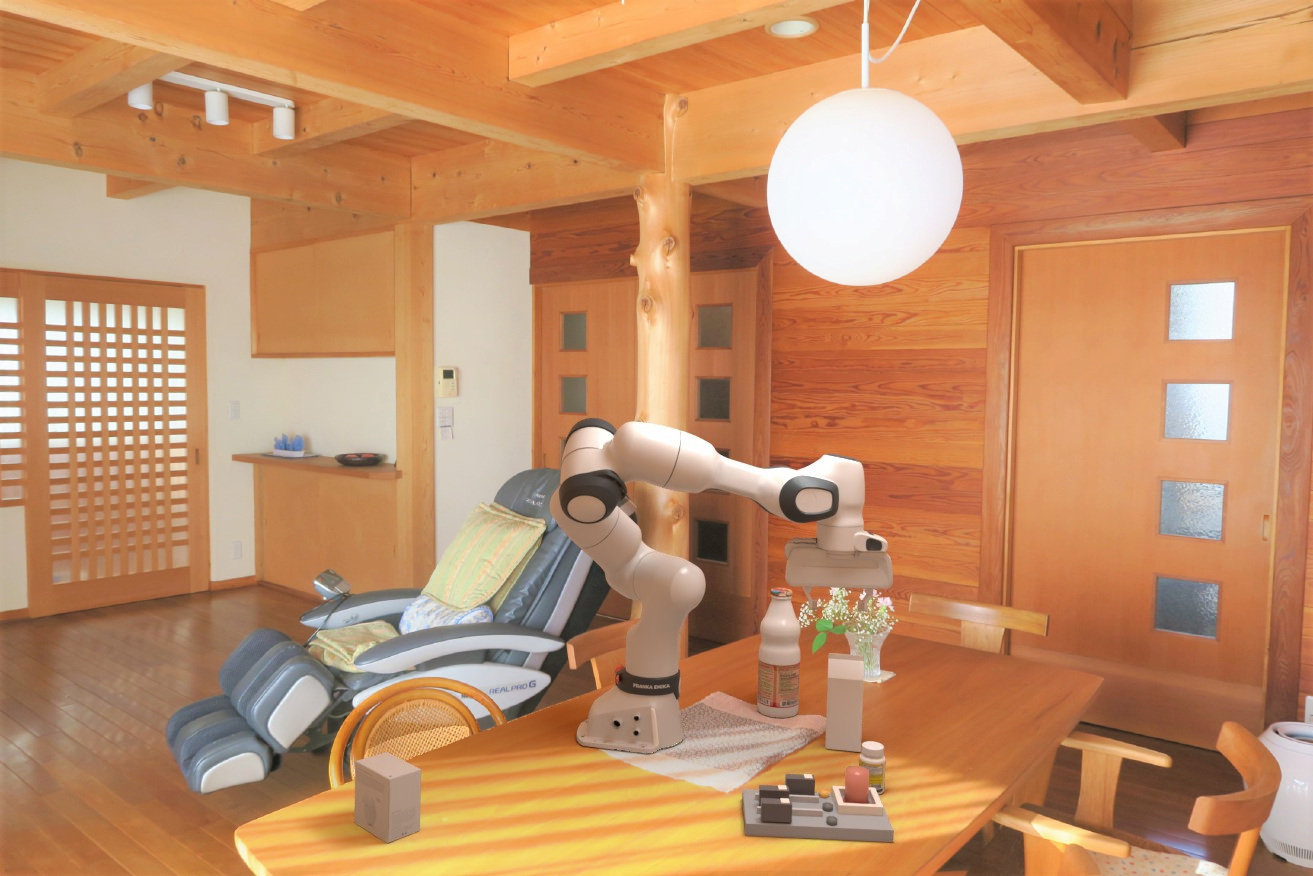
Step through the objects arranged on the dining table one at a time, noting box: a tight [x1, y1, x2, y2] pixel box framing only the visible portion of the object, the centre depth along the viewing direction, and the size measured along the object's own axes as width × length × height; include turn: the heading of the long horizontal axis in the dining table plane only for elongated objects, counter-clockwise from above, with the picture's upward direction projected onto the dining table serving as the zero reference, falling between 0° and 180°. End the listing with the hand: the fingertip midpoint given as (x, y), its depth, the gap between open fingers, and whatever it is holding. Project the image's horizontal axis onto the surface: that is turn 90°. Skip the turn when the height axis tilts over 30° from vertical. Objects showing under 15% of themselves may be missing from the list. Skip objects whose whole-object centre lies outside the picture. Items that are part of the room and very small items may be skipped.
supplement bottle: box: [858, 740, 887, 796], centre depth 169 cm, size 5×5×8 cm
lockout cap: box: [843, 765, 870, 804], centre depth 158 cm, size 5×5×6 cm
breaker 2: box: [760, 798, 792, 823], centre depth 152 cm, size 5×2×3 cm, turn 87°
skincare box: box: [353, 751, 422, 844], centre depth 151 cm, size 10×6×10 cm, turn 48°
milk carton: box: [824, 652, 865, 753], centre depth 190 cm, size 7×7×19 cm
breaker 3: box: [784, 773, 816, 796], centre depth 162 cm, size 5×2×3 cm, turn 87°
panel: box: [741, 785, 894, 843], centre depth 157 cm, size 24×13×4 cm, turn 87°
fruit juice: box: [756, 587, 802, 719], centre depth 208 cm, size 9×9×28 cm
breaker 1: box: [758, 784, 789, 806], centre depth 157 cm, size 5×2×3 cm, turn 87°
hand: (837, 610), depth 177 cm, fingers open, 8 cm apart
